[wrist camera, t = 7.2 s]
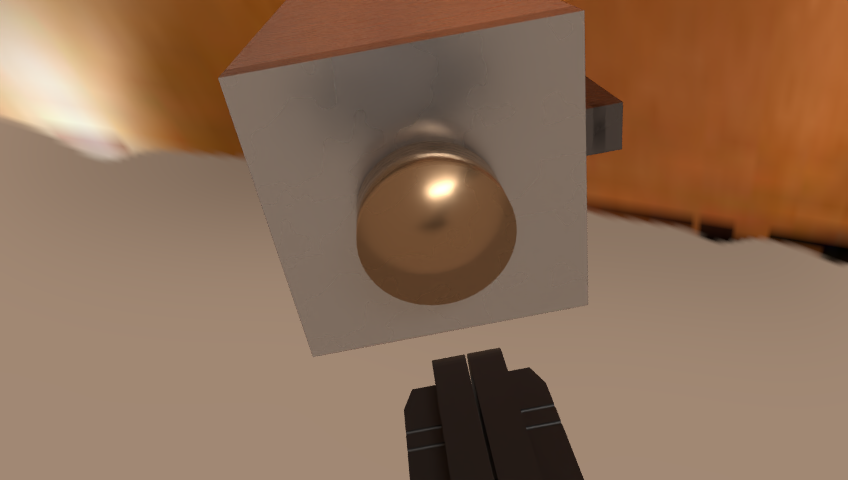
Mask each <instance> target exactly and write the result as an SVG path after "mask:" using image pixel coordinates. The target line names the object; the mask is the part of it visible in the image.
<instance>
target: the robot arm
mask: <svg viewBox="0 0 848 480" xmlns="http://www.w3.org/2000/svg"><path fill="white" fill-rule="evenodd" d="M467 358H468V364H469V370H470V375H469V371H468V367H467V363H466V358H465V355H459V356H455V357H449V358H443V359H438V360H433V361H432V364H433V370H434V377H435V384H436V385H434V386H429V387H424V388H418V389H413V390H412V391H411V394H410V396H409V399H408V401H407V404H406V406H405V409H404V415H405V427H406V438H407V449H408V461H409V474H410V480H584V479H583V476H582V473H581V471H580V468H579V466H578V463H577V461H576V458H575V456H574V453H573V451H572V448H571V446H570V443H569V441H568V438H567V435H566V433H565V430H564V428H563V426H562V424H561V421H560V418H559V415H558V413H557V410H556V408H555V406H554V402H553V400H552V397H551V395H550V392H549V390H548V387H547V385H546V383H545V382H544V381H543V380H542V379H541V378H540V377H539V376H538V375H537V374H536V373H535V372H534V371H533V370H532V369H530V368H524V369H518V370H513V371H508V370H507V367H506V364H505V361H504V358H503V354H502V351H501V349H500V348H496V349H490V350H485V351H480V352H474V353H469V354H467ZM470 376H471V380H470ZM471 383H472V384H471Z"/></svg>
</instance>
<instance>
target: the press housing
mask: <svg viewBox="0 0 848 480" xmlns="http://www.w3.org/2000/svg"><path fill="white" fill-rule="evenodd" d="M218 79H219V82H220V85H221V88H222V91H223V94H224V97H225V100H226V103H227V106H228V108H229V111H230V114H231V117H232V120H233V123H234V126H235V129H236V132H237V135H238V138H239V141H240V144H241V147H242V150H243V153H244V156H245V158H246V161H247V164H248V167H249V170H250V173H251V176H252V179H253V182H254V185H255V188H256V191H257V194H258V197H259V199H260V203H261V206H262V209H263V211H264V214H265V217H266V220H267V223H268V226H269V229H270V232H271V235H272V238H273V241H274V244H275V247H276V250H277V253H278V256H279V258H280V261H281V264H282V267H283V270H284V273H285V276H286V279H287V282H288V285H289V288H290V291H291V294H292V297H293V300H294V302H295V305H296V308H297V311H298V314H299V317H300V320H301V323H302V326H303V329H304V332H305V335H306V338H307V341H308V344H309V347H310V349H311V353H312V356H313V357H315V356H320V355H326V354H331V353H337V352H342V351H347V350H352V349H358V348H363V347H368V346H374V345H379V344H384V343H390V342H395V341H400V340H405V339H411V338H416V337H421V336H427V335H432V334H436V333H442V332H448V331H452V330H458V329H464V328H469V327H474V326H480V325H485V324H490V323H495V322H501V321H506V320H511V319H516V318H522V317H527V316H533V315H538V314H543V313H548V312H554V311H559V310H564V309H570V308H574V307H580V306H585V305H588V265H587V263H588V261H587V181H586V156H588V155H593V154H598V153H604V152H609V151H614V150H620V149H622V117H623V102H622V101H620V100H619V99H617V98H616V97H615V96H613V95H612V94H610V93H609V92H608V91H606V90H605V89H603V88H602V87H600V86H599V85H598V84H596V83H595V82H593V81H592V80H590V79H589V78H588V77H586V76H585V24H584V10H582V9H580V8H577V7H575V6H572V5H570V4H568V3H565V2H563V1H560V0H286V1H285V2H284V3H283V4H282V6H281V7H280V8H279V9H278V10H277V11H276V12H275V14H274V15H273V16H272V17H271V18H270V19H269V21H268V22H267V23H266V24H265V25H264V26H263V27H262V29H261V30H260V31H259V32H258V33H257V34H256V35H255V37H254V38H253V39H252V40H251V41H250V42H249V43H248V45H247V46H246V47H245V48H244V49H243V50H242V51H241V53H240V54H239V55H238V56H237V57H236V58H235V59H234V61H233V62H232V63H231V64H230V65H229V66H228V67H227V69H226V70H225V71H224V72H223V73H222V74H221V75H220V77H219V78H218ZM423 141H444V142H450V143H454V144H458V145H460V146H463V147H465V148H468V149H469V150H471V151H473V152H475V153H476V154H477V155H479V156H480V157H481V158H482V159H484V161H485V162H486V163H487V164H488V165H489V166H490V167H491V169H492V170H493V172H494V173H495V175H496V177H497V179H498V181H499V182H500V184H501V186H502V188H503V190H504V192H505V194H506V196H507V198H508V199H509V201H510V203H511V205H512V208H513V211H514V214H515V218H516V224H517V236H516V243H515V247H514V250H513V253H512V255H511V258H510V260H509V262H508V263H507V265H506V267H505V268H504V270H503V271H502V272H501V273H500V275H499V276H498V277H497V278H496V279H495V280H494V281H493V282H492V283H491V284H489V285H488V286H487V287H486V288H484V289H483V290H481V291H480V292H478V293H476V294H475V295H472V296H470V297H468V298H466V299H463V300H460V301H458V302H453V303H449V304H443V305H419V304H414V303H409V302H406V301H403V300H400V299H398V298H395V297H393V296H391V295H390V294H388V293H386V292H385V291H383V290H382V289H381V288H379V287H378V286H377V285H376V284H375V283H374V282H373V281H372V280H371V279H370V277H369V276H368V275H367V273H366V272H365V270H364V268H363V266H362V264H361V262H360V259H359V256H358V251H357V242H356V222H357V200H358V196H359V192H360V189H361V187H362V184H363V182H364V180H365V178H366V177H367V175H368V174H369V172H370V171H371V170H372V169H373V167H374V166H375V165H376V164H377V163H378V162H379V161H380V160H382V159H383V158H384V157H386V156H387V155H388V154H390V153H391V152H393V151H395V150H397V149H399V148H401V147H404V146H406V145H409V144H413V143H417V142H423Z"/></svg>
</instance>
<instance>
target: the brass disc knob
mask: <svg viewBox="0 0 848 480" xmlns="http://www.w3.org/2000/svg"><path fill="white" fill-rule="evenodd" d="M516 236H517V224H516V218H515V214H514V211H513V208H512V205H511V203H510V201H509V199H508V198H507V196H506V194H505V192H504V190H503V188H502V186H501V184H500V182H499V181H498V179H497V177H496V175H495V173H494V172H493V170H492V169H491V167H490V166H489V165H488V164H487V163H486V162H485V161H484V159H482V158H481V157H480V156H479V155H477V154H476V153H475V152H473V151H471V150H469V149H468V148H465V147H463V146H460V145H458V144H454V143H450V142H444V141H423V142H417V143H413V144H409V145H406V146H404V147H401V148H399V149H397V150H395V151H393V152H391V153H390V154H388V155H387V156H386V157H384V158H383V159H382V160H380V161H379V162H378V163H377V164H376V165H375V166H374V167H373V169H372V170H371V171H370V172H369V174H368V175H367V177H366V178H365V180H364V182H363V184H362V187H361V189H360V192H359V196H358V200H357V222H356V242H357V251H358V256H359V259H360V262H361V264H362V266H363V268H364V270H365V272H366V273H367V275H368V276H369V277H370V279H371V280H372V281H373V282H374V283H375V284H376V285H377V286H378V287H379V288H381V289H382V290H383V291H385V292H386V293H388V294H390V295H391V296H393V297H395V298H398V299H400V300H403V301H406V302H409V303H414V304H419V305H443V304H449V303H453V302H458V301H460V300H463V299H466V298H468V297H470V296H472V295H475V294H476V293H478V292H480V291H481V290H483V289H484V288H486V287H487V286H488V285H489V284H491V283H492V282H493V281H494V280H495V279H496V278H497V277H498V276H499V275H500V273H501V272H502V271H503V270H504V268H505V267H506V265H507V263H508V262H509V260H510V258H511V255H512V253H513V250H514V247H515V243H516Z"/></svg>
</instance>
